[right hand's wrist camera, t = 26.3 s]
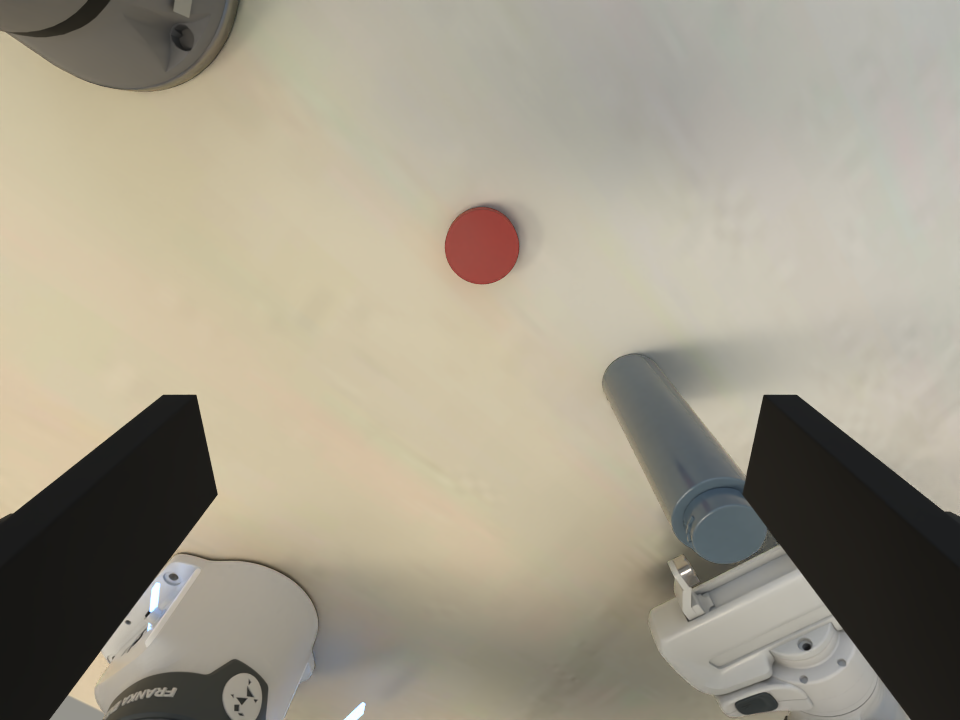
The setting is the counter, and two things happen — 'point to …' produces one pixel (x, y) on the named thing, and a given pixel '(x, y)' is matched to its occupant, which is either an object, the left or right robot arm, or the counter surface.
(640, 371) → the grey cylinder
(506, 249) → the lid
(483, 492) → the counter surface
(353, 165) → the counter surface
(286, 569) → the counter surface
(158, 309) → the counter surface
